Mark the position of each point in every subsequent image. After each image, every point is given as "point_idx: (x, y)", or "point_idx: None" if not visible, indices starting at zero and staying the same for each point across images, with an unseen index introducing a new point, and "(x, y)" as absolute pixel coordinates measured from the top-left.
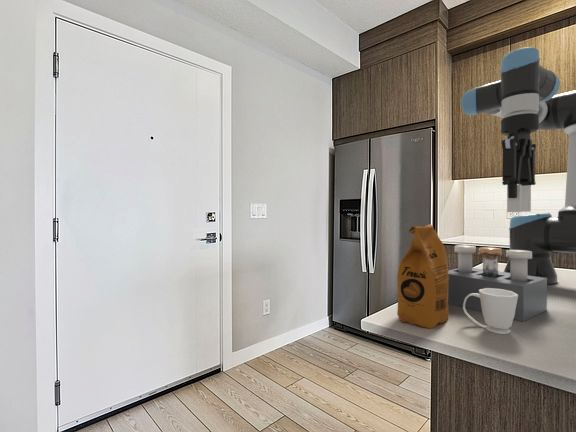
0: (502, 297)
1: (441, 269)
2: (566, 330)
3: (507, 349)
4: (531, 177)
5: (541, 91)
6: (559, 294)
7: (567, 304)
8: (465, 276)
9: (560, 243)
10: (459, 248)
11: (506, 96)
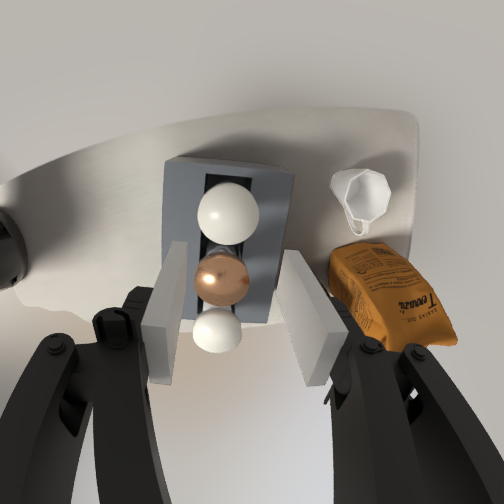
0: (388, 185)
1: (394, 282)
2: (278, 113)
3: (395, 162)
4: (95, 374)
5: None
6: (53, 177)
7: (110, 144)
8: (273, 279)
9: None
10: (240, 336)
11: None
